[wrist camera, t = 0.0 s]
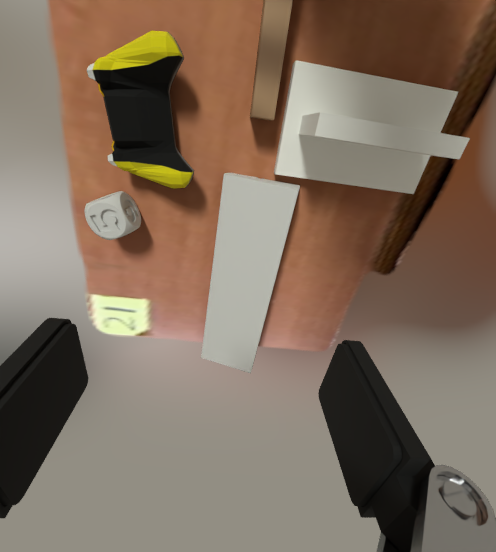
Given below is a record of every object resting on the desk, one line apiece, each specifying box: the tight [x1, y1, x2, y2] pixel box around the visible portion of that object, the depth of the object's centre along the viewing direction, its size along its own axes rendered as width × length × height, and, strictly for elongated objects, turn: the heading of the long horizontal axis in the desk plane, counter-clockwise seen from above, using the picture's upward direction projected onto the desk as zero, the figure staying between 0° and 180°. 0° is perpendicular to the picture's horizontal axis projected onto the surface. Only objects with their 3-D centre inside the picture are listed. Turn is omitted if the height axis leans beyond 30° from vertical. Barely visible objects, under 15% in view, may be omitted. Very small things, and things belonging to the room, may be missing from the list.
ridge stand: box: [274, 60, 470, 194], centre depth 30 cm, size 12×20×9 cm, turn 82°
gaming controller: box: [87, 31, 194, 188], centre depth 30 cm, size 15×6×10 cm
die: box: [85, 191, 141, 240], centre depth 35 cm, size 5×5×5 cm
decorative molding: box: [201, 173, 300, 373], centre depth 44 cm, size 34×5×10 cm
